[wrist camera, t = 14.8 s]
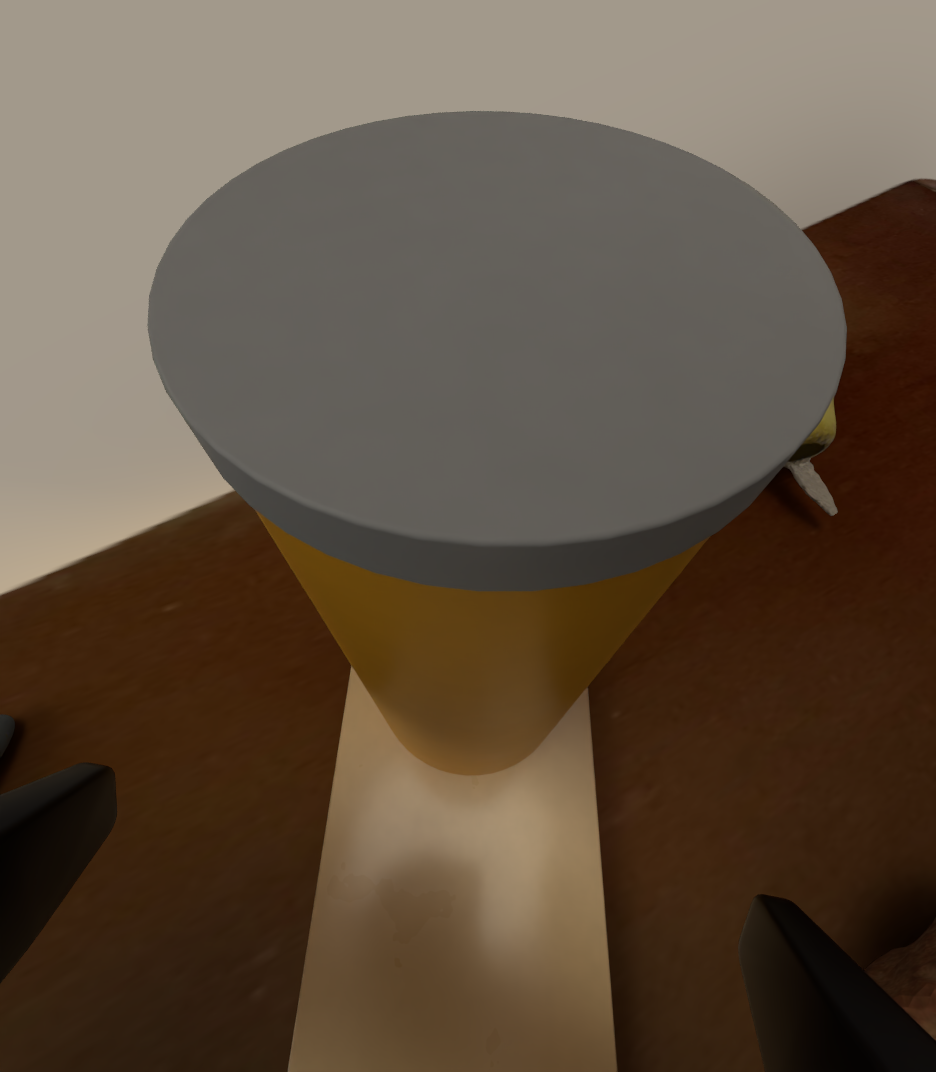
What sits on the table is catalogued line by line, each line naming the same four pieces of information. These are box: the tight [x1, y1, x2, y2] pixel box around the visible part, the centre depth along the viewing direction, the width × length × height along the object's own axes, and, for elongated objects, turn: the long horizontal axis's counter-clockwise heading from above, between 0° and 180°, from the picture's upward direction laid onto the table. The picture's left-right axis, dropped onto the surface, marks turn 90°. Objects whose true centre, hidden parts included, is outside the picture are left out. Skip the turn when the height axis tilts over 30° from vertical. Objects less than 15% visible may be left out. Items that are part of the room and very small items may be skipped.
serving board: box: [287, 665, 618, 1072], centre depth 13 cm, size 30×8×1 cm, turn 178°
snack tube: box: [148, 111, 847, 776], centre depth 12 cm, size 7×7×15 cm
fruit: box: [782, 398, 837, 516], centre depth 22 cm, size 6×6×10 cm
